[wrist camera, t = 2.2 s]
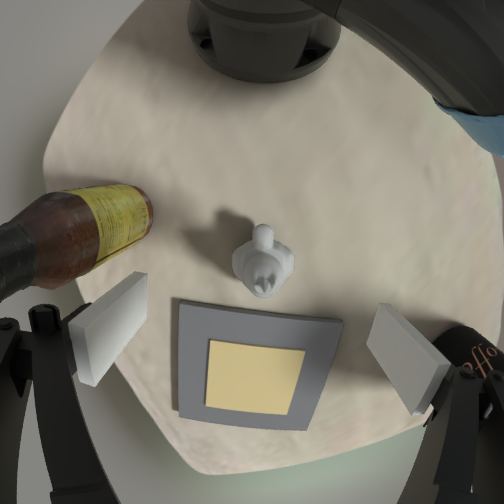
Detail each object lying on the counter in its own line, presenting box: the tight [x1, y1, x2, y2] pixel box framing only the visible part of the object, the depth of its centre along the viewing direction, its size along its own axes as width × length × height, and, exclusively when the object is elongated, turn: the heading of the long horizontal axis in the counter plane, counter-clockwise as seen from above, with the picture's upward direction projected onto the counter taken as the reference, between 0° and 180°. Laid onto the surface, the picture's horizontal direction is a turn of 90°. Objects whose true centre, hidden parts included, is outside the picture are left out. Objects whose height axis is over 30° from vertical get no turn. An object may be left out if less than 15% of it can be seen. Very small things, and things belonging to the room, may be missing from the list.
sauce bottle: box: [0, 184, 153, 303], centre depth 17 cm, size 6×6×20 cm
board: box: [178, 300, 344, 431], centre depth 30 cm, size 17×17×1 cm
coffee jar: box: [432, 326, 504, 418], centre depth 21 cm, size 11×11×18 cm
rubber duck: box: [232, 224, 294, 298], centre depth 23 cm, size 5×7×8 cm
